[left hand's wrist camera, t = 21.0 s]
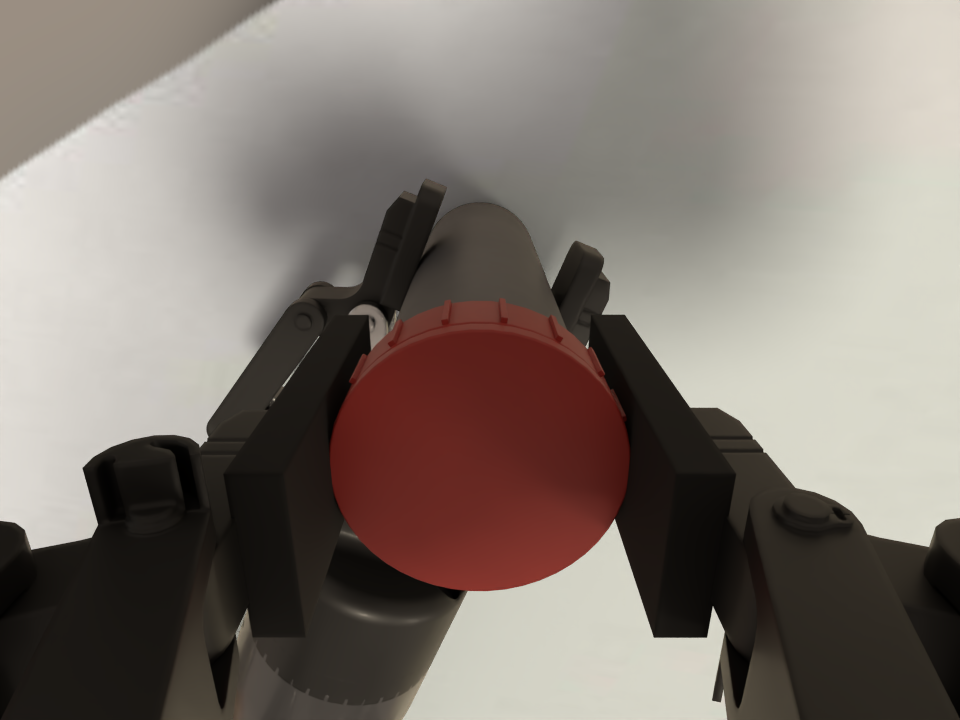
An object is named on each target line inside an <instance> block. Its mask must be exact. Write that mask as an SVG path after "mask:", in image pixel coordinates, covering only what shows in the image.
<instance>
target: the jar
mask: <svg viewBox="0 0 960 720" xmlns="http://www.w3.org/2000/svg"><path fill="white" fill-rule="evenodd" d="M499 298H503V299H505V300H506V303H509V304H513V305H516V306H520V307H524V308H527V309H530V310H532V311H535V312H537V313H539V314H542V315H544V316H546V317H548V318H549V317H550V315H553V316H555V317H556V319H557V322H558V324H560V325H561V326H562V327H564V328H565V329H566V326H565V324H564V321H563V319H562V316H561V314H560V311H559V309H558V306H557V304H556V301H555V298H554V296H553V293H552V291H551V288H550V286H549V283H548V281H547V278H546V276H545V273H544V271H543V268H542V266H541V263H540V260H539V258H538V255H537V253H536V250H535V248H534V245H533V243H532V240H531V238H530V235H529V233H528V231H527V229H526V227H525V226H524V225H523V223H522V222H521V221H520V220H519V219H518V218H517V217H516V216H515V215H514V214H513V213H511V212H510V211H508V210H506V209H505V208H503V207H500V206H498V205H494V204H491V203H469V204H465V205H462V206H459V207H457V208H455V209H453V210H451V211H450V212H448V213H447V214H446V215H445V216H443V217H442V218H441V219H440V220H439V222H438V223H437V224H436V226H435V227H434V229H433V230H432V232H431V234H430V237H429V239H428V242H427V244H426V247H425V249H424V252H423V255H422V257H421V260H420V263H419V265H418V268H417V270H416V273H415V275H414V278H413V280H412V282H411V285H410V287H409V290H408V292H407V295H406V297H405V300H404V302H403V305H402V307H401V310H400V312H399V315H398V317H397V320H396V322H397V321H398V320H400V319H401V320H402V322H404V321H406V320H408V319H410V318H412V317H414V316H415V315H417V314H420V313H422V312H425V311H427V310H430V309H432V308H435V307H439V306H443V305H444V302H445V301H446V300H451V303H457V302H466V301H494V302H499ZM396 322H395V323H396ZM394 326H395V325H394ZM393 328H394V327H393ZM566 330H567V329H566Z"/></svg>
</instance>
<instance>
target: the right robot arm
mask: <svg viewBox="0 0 960 720" xmlns="http://www.w3.org/2000/svg"><path fill="white" fill-rule="evenodd" d="M446 189H447V187H445V186H443V185H441V184H438V183H436V182H433V181H431V180H428V179H426V180H425V181H424V182H423V184H422V186H421V188H420V191H419V193H418V196H416V195H413V194H411V193H408V192H406V191H404V192H403V193H402V194H401V195H400V196H399V197H398V199H397V200H396V201H395V202H394V203H393V204H392V205H391V207H390V208H389V209H388V210H387V212H386V215H385V218H384V221H383V224H382V227H381V230H380V232H379V235H378V238H377V242H376V244H375V247H374V250H373V253H372V256H371V259H370V262H369V265H368V268H367V271H366V274H365V277H364V280H363V282H362V283H361V284H359V285H357V286H354V287H334V286H333V285H331V284H329V283H327V282H321V281H320V282H315V283H313V284H311V285H310V286H309V287H308V288H307V289H306V290H305V291H304V292H303V294H302V295H301V297H300V298H299V299H298V300H296V301H295V302H293V303H292V304H291V305H290V306H289V307H288V309H287V310H286V311H285V313H284V314H283V316H282V317H281V318H280V320H279V321H278V323H277V324H276V326H275V327H274V329H273V330H272V331H271V333H270V334H269V336H268V337H267V339H266V340H265V341H264V343H263V344H262V346H261V347H260V349H259V350H258V351H257V353H256V354H255V356H254V357H253V359H252V360H251V361H250V363H249V364H248V366H247V367H246V369H245V370H244V372H243V373H242V374H241V376H240V377H239V379H238V380H237V382H236V383H235V384H234V386H233V387H232V389H231V390H230V392H229V393H228V394H227V396H226V397H225V399H224V400H223V402H222V403H221V405H220V406H219V407H218V409H217V410H216V412H215V413H214V415H213V416H212V417H211V419H210V420H209V422H208V424H207V434H208V436H210V435H211V434H212V433H213V431H214V430H215V429H216V428H217V427H218V425H219V424H220V423H221V422H223V421H225V420H227V419H228V418H230V417H232V416H233V415H235V414H237V413H238V412H240V411H242V410H268V409H269V408H270V406H271V405H272V404H273V402H274V401H275V399H276V398H277V397H278V395H279V394H280V392H281V391H282V389H283V388H284V387H282V385H283V384H284V383H285V381H286V380H287V379H288V377H289V376H290V374H291V373H292V372H293V370H294V369H295V368H296V366H297V365H298V363H299V362H300V361H301V359H302V358H303V357H304V355H305V354H306V352H307V351H308V350H309V348H310V347H311V346H312V344H313V343H314V342H315V340H316V339H317V337H318V336H320V335H321V334H322V333H323V331H324V330H325V328H326V327H327V325H328V324H329V323H330V321H331V320H332V318H333V317H334V315H369V326H370V340H371V350H372V349H373V348H374V346H375V345H376V344H377V343H378V342H379V341H380V340H381V339H382V338H383V337H384V336H386V335H387V334H388V333H389V332H390V331H392V330H393V327H394V325H395V322H396V310H397V311H400V310H401V307H402V305H403V302H404V300H405V297H406V295H407V292H408V290H409V287H410V285H411V282H412V280H413V278H414V275H415V273H416V270H417V268H418V265H419V263H420V260H421V257H422V255H423V252H424V249H425V246H426V244H427V241H428V238H429V236H430V233H431V230H432V227H433V225H434V222H435V219H436V217H437V214H438V211H439V208H440V206H441V203H442V200H443V198H444V195H445V192H446ZM603 264H604V258H603V256H602V255H601V254H600V253H599V252H598V250H597V249H595V248H593V247H590V246H588V245H585V244H583V243H581V242H578V241H575V242H574V243H573V244H572V246H571V248H570V249H569V251H568V254H567V256H566V258H565V260H564V262H563V265H562V267H561V269H560V271H559V273H558V275H557V278H556V280H555V282H554V284H553V286H552V289H551V291H552V293H553V296H554V298H555V301H556V304H557V306H558V309H559V311H560V314H561V316H562V319H563V321H564V324H565V326H566V329H567V330H568V331H569V332H570V333H572V334H573V335H574V336H575V337H576V338H577V339H578V340H579V341H580V342H581V343H582V344H583V345H584V346H586V344H587V342H588V340H589V335H590V321H591V315H601V314H602V312H603V310H604V308H605V306H606V304H607V302H608V300H609V289H610V282H609V280H608V279H607V278H606V276H605V275H604V274H603V272H602V268H603ZM466 593H467V591H466V590H457V589H450V588H445V587H441V586H436V585H432V584H429V583H426V582H423V581H420V580H417V579H415V578H413V577H411V576H408V575H406V574H404V573H402V572H400V571H398V570H397V569H395V568H393V567H392V566H390V565H388V564H387V563H385V562H384V561H383V560H381V559H380V558H379V557H378V556H376V555H375V554H374V553H372V552H371V551H370V550H369V549H368V548H367V547H366V546H365V545H364V544H363V543H362V542H361V541H360V540H359V538H358V537H357V536H356V535H355V533H354V532H353V531H352V529H351V528H350V527H349V525H348V523H347V522H346V520H345V519H344V522H343V525H342V528H341V532H340V535H339V538H338V541H337V544H336V547H335V550H334V553H333V556H332V559H331V562H330V565H329V568H328V571H327V574H326V577H325V580H324V583H323V586H322V589H321V592H320V595H319V598H318V601H317V604H316V607H315V610H314V614H313V617H312V620H311V623H310V626H309V629H308V632H307V635H306V638H253V637H252V631H251V626H250V620H249V615H248V609H247V612H246V615H245V618H244V621H243V623H242V626H241V629H240V632H239V635H238V639H237V645H238V650H239V657H240V664H239V673H238V681H237V689H236V697H235V706H234V714H233V720H402V719H403V717H404V716H405V714H406V712H407V711H408V709H409V707H410V705H411V703H412V701H413V699H414V697H415V695H416V693H417V691H418V689H419V687H420V685H421V683H422V681H423V679H424V677H425V675H426V673H427V671H428V669H429V667H430V665H431V663H432V661H433V659H434V657H435V655H436V653H437V651H438V649H439V647H440V645H441V643H442V641H443V639H444V637H445V635H446V633H447V631H448V629H449V627H450V625H451V623H452V621H453V619H454V617H455V615H456V613H457V611H458V609H459V607H460V605H461V603H462V601H463V599H464V597H465V595H466Z"/></svg>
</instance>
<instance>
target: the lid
mask: <svg viewBox="0 0 960 720" xmlns="http://www.w3.org/2000/svg"><path fill="white" fill-rule="evenodd" d="M604 375H605V373H604V371H603V369H602V367H601V365H600V362H599V360H598V358H597V356H596V354H595V352H594V350H593V349H592V348H591V347H590V348H588V349H587V348H586V347H585V346H584V345H583V344H582V343H581V342H580V341H579V340H578V339H577V338H576V337H575V336H574V335H573V334H572V333H570V332H569V331H568V330H566V329H565V328H564V327H562V326H561V325H560V324H558V322H557V319H556V317H555V316H553V315H550V317H549V318H548V317H546V316H544V315H542V314H539V313H537V312H535V311H532V310H530V309H527V308H524V307H520V306H516V305H513V304H509V303H506V300H505V299H503V298H499V302H494V301H466V302H457V303H451V300H446V301H445V302H444V305H443V306H439V307H435V308H432V309H430V310H427V311H425V312H422V313H420V314H417V315H415V316H414V317H412V318H410V319H408V320H406V321H404V322H402V320H401V319H400V320H398V321H397V322H396V323H395V326H394V328H393V330H392V331H390V332H389V333H388V334H387V335H386V336H384V337H383V338H382V339H381V340H380V341H379V342H378V343H377V344H376V345H375V346H374V348H373V349H372V350H371V352H370V353H369V354H368V356H367V355H365V354H363V355H362V356H361V358H360V360H359V362H358V364H357V366H356V368H355V370H354V372H353V374H352V376H351V378H350V381H349V382H350V383H351V384H352V385H351V387H350V389H349V391H348V393H347V395H346V398H345V400H344V402H343V404H342V406H341V408H340V410H339V413H338V415H337V418H336V420H335V422H334V424H333V425H334V426H333V430H332V434H331V439H330V444H329V456H330V467H331V476H332V485H333V493H334V497H335V499H336V501H337V504H338V506H339V509H340V511H341V513H342V515H343V517H344V518H345V520H346V522H347V523H348V525H349V527H350V528H351V529H352V531H353V532H354V533H355V535H356V536H357V537H358V538H359V540H360V541H361V542H362V543H363V544H364V545H365V546H366V547H367V548H368V549H369V550H370V551H371V552H372V553H374V554H375V555H376V556H378V557H379V558H380V559H381V560H383V561H384V562H385V563H387V564H388V565H390V566H392V567H393V568H395V569H397V570H398V571H400V572H402V573H404V574H406V575H408V576H411V577H413V578H415V579H417V580H420V581H423V582H426V583H429V584H432V585H436V586H441V587H445V588H450V589H457V590H466V591H493V590H503V589H509V588H514V587H519V586H524V585H527V584H530V583H533V582H536V581H539V580H542V579H544V578H546V577H549V576H551V575H553V574H555V573H557V572H559V571H561V570H563V569H564V568H566V567H568V566H569V565H571V564H573V563H574V562H575V561H577V560H578V559H579V558H581V557H582V556H583V555H585V554H586V553H587V552H588V551H589V550H590V549H591V548H592V547H593V546H594V545H595V544H596V543H597V542H598V541H599V540H600V539H601V537H602V536H603V535H604V534H605V532H606V531H607V530H608V529H609V527H610V525H611V524H612V522H613V521H614V519H615V517H616V516H617V514H618V512H619V509H620V507H621V505H622V502H623V500H624V498H625V494H626V490H627V482H628V472H629V462H630V443H629V438H628V433H627V429H626V426H625V423H624V422H625V421H627V418H626V415H625V413H624V411H623V408H622V406H621V404H620V402H619V400H618V398H617V396H616V394H615V392H614V390H613V389H611V390H610V388H609V386H608V384H607V382H606V380H605V378H604Z"/></svg>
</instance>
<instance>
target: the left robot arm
mask: <svg viewBox="0 0 960 720" xmlns="http://www.w3.org/2000/svg"><path fill="white" fill-rule="evenodd" d="M590 347H591V348H592V349H593V350H594V352H595V354H596V356H597V358H598V360H599V362H600V365H601V367H602V369H603V371H604V373H605V375H604V378H605V380H606V382H607V384H608V386H609V388H610V390H611V389H613V390H614V392H615V394H616V396H617V398H618V400H619V402H620V404H621V406H622V408H623V411H624V413H625V415H626V418H627V421H625V422H624V423H625V426H626V429H627V433H628V438H629V443H630V462H629V472H628V482H627V490H626V494H625V498H624V500H623V502H622V505H621V507H620V509H619V512H618V514H617V516H616V517H615V520H616V524H617V527H618V530H619V533H620V536H621V539H622V542H623V545H624V548H625V551H626V554H627V557H628V560H629V563H630V566H631V569H632V572H633V575H634V578H635V581H636V584H637V587H638V590H639V593H640V596H641V599H642V603H643V606H644V609H645V612H646V615H647V618H648V621H649V624H650V627H651V630H652V633H653V636H654V638H707V635H708V629H709V624H710V618H711V612H712V607H714V609H715V611H716V613H717V615H718V618H719V620H720V622H721V624H722V626H723V628H724V630H725V634H724V639H723V645H722V650H721V655H720V660H719V665H718V671H717V676H716V681H715V686H714V692H713V699H712V701H717V702H721V698H722V693H723V689H724V696H725V704H726V712H727V720H960V518H957V519H949V520H945V521H943V522H942V523H941V524H939V525H938V526H936V528H935V531H934V534H933V537H932V540H931V543H930V546H929V547H926V546H920V545H915V544H910V543H905V542H899V541H894V540H889V539H884V538H879V537H875V536H871V535H867V533H866V531H865V529H864V527H863V525H862V524H861V522H860V521H859V520H858V519H857V518H856V516H855V515H854V514H853V513H852V512H851V511H850V510H848V509H847V508H845V507H844V506H842V505H841V504H839V503H838V502H836V501H835V500H832V499H830V498H827V497H825V496H822V495H820V494H817V493H815V492H811V491H806V490H802V489H797V488H795V487H794V486H793V485H792V483H791V482H790V481H789V480H788V479H787V477H786V476H785V475H784V474H783V473H782V471H781V470H780V469H779V468H778V467H777V465H776V464H775V463H774V462H773V460H772V459H771V458H770V457H769V456H768V454H767V453H763V448H762V447H761V446H760V445H759V444H758V442H757V441H756V440H753V436H752V435H751V434H750V433H749V432H748V430H747V429H746V428H745V427H744V426H743V424H742V423H741V422H740V421H739V420H737V419H735V418H734V417H732V416H730V415H729V414H727V413H725V412H723V411H722V410H720V409H718V408H690V407H689V406H688V404H687V403H686V401H685V400H684V399H683V397H682V396H681V394H680V393H679V391H678V390H677V389H676V387H675V386H674V384H673V383H672V381H671V380H670V379H669V377H668V376H667V374H666V373H665V372H664V370H663V369H662V367H661V366H660V364H659V363H658V362H657V360H656V359H655V357H654V356H653V354H652V353H651V352H650V350H649V349H648V347H647V346H646V344H645V343H644V342H643V340H642V339H641V337H640V336H639V335H638V333H637V332H636V330H635V329H634V327H633V326H632V325H631V323H630V322H629V320H628V319H627V317H626V316H625V315H591V321H590V335H589V348H590ZM370 352H371V340H370V326H369V315H334V317H333V318H332V320H331V321H330V323H329V324H328V325H327V327H326V328H325V330H324V331H323V333H322V334H321V335H320V337H319V338H318V340H317V341H316V342H315V344H314V345H313V347H312V348H311V350H310V351H309V352H308V354H307V355H306V357H305V358H304V360H303V361H302V362H301V364H300V365H299V367H298V368H297V370H296V371H295V372H294V374H293V375H292V377H291V378H290V379H289V381H288V382H287V384H286V385H285V387H284V388H283V389H282V391H281V392H280V394H279V395H278V397H277V398H276V399H275V401H274V402H273V404H272V405H271V406H270V408H269V409H268V410H242V411H240V412H238V413H237V414H235V415H233V416H232V417H230V418H228V419H227V420H225V421H223V422H221V423H220V424H219V425H218V427H217V428H216V429H215V430H214V431H213V433H212V434H211V435H210V436H209V437H208V439H207V442H204V444H203V445H202V446H201V447H200V448H199V444H197V443H196V442H194V441H193V440H192V439H190V438H186V437H182V436H177V435H157V436H149V437H144V438H139V439H134V440H130V441H127V442H124V443H122V444H119V445H116V446H113V447H111V448H109V449H107V450H105V451H103V452H102V453H100V454H98V455H96V456H95V457H93V458H92V459H91V460H90V461H89V462H88V463H87V464H86V465H85V466H84V467H83V471H84V475H85V479H86V482H87V486H88V489H89V493H90V497H91V500H92V504H93V507H94V511H95V515H96V518H97V522H98V526H97V528H96V530H95V532H94V534H93V536H92V538H88V539H84V540H80V541H75V542H70V543H65V544H60V545H54V546H49V547H44V548H39V549H34V550H31V548H30V545H29V542H28V539H27V536H26V533H25V530H24V529H23V528H21V527H20V526H19V525H17V524H16V523H12V522H4V521H0V720H233V714H234V706H235V697H236V689H237V681H238V673H239V664H240V657H239V650H238V645H237V639H236V634H235V633H236V631H237V629H238V626H239V624H240V622H241V620H242V618H243V616H244V614H245V611H246V609H248V615H249V620H250V626H251V631H252V637H253V638H306V635H307V632H308V629H309V626H310V623H311V620H312V617H313V614H314V610H315V607H316V604H317V601H318V598H319V595H320V592H321V589H322V586H323V583H324V580H325V577H326V574H327V571H328V568H329V565H330V562H331V559H332V556H333V553H334V550H335V547H336V544H337V541H338V538H339V535H340V532H341V528H342V525H343V522H344V519H345V518H344V517H343V515H342V513H341V511H340V509H339V506H338V504H337V501H336V499H335V497H334V493H333V485H332V476H331V467H330V456H329V444H330V439H331V434H332V430H333V426H334V425H333V424H334V422H335V420H336V418H337V415H338V413H339V410H340V408H341V406H342V404H343V402H344V400H345V398H346V395H347V393H348V391H349V389H350V387H351V385H352V384H351V383H350V382H349V381H350V378H351V376H352V374H353V372H354V370H355V368H356V366H357V364H358V362H359V360H360V358H361V356H362V355H363V354H365V355H367V356H368V354H369V353H370Z"/></svg>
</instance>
